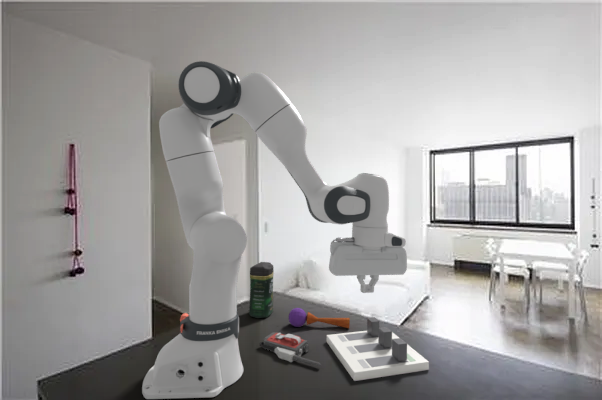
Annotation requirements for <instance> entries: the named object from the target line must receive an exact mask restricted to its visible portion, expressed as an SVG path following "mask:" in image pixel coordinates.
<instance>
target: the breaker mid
mask: <svg viewBox="0 0 602 400" xmlns="http://www.w3.org/2000/svg"><path fill="white" fill-rule="evenodd" d="M392 332H393V331H392V330H391V329H390V328H388V327H387V326H383V327H382V326H381V327H379V339H378V343H379V344H380V345H381V346H382V347H384V348H387V347H392Z"/></svg>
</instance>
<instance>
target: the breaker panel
mask: <svg viewBox="0 0 602 400" xmlns="http://www.w3.org/2000/svg"><path fill="white" fill-rule="evenodd" d="M396 338H400V337H399V336H398V335H397V334H396V333H394V331H392V339H396ZM378 339H379V336H371V335H370V334H369V333H368V332H367V330H363V331H362V330H361V331H360V330H359V331H353V332H352V331H351V332H344V333H336V334H335V333H334V334H326V343H327V345H329V347H330V349H331V350H332V352H333V353H334V354H335V356H336V357H337V359H338V360H339V362H340V363H341V364H342V366H343V367H344V368H345V370H346V372H348V374H349V376H350V377H351V379H353V381H354V382H356V381H363V380H370V379H377V378H381V377H382V378H384V377H389V376H396V375H402V374H403V375H404V374H409V373H417V372H422V371H429V370H430V361H428V359H426V358H425V357H424V356H423V355H421V354H420V353H419V352H418V351H416V350H415V349H414V348H412V347H411V345H409V344H408V343H407V360H404V361H397V360H396V359H395V358H394V357H393V356H392V347H387V348H384V347H382V346H381V345H380V344H379V343H378Z"/></svg>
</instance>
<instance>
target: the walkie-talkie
mask: <svg viewBox="0 0 602 400" xmlns="http://www.w3.org/2000/svg"><path fill="white" fill-rule="evenodd" d="M259 347H261V348H263V350H266V349H267V350H266V351H269V350H270V352H273V353H274V354H276V356H277V357H278V358H279V359H281V360H283V361H284V360H285V361H287V362H289V363H293V362H294V361H296V362H300V363H303V364H307V365H313V366H317V367H321V366H322V363H320V362H319V361H314V360H312V359H310V358H305V357H302V355H303V354H305V353H308V352H309V349H310V345H309V341H308V340H306V339H303V338H301V336H299V335H295V334H291V333H287V334H283V333H281V332H274V331H273V332H271V333H270V334H268V335H267V336H265V337H263V341H261V342H259Z"/></svg>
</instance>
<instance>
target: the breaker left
mask: <svg viewBox="0 0 602 400" xmlns="http://www.w3.org/2000/svg"><path fill="white" fill-rule="evenodd" d="M366 320H367V321H366V322H367V323H366V331H367V332H368V333H369V334H370V335H371V336H379V328H380V320H378V319H377V318H376V317H375V316H374V317H373V316H372V317H367V319H366Z"/></svg>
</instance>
